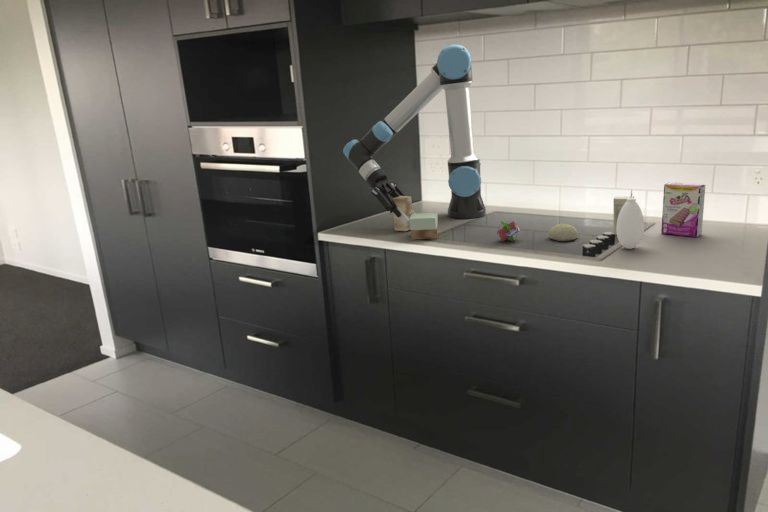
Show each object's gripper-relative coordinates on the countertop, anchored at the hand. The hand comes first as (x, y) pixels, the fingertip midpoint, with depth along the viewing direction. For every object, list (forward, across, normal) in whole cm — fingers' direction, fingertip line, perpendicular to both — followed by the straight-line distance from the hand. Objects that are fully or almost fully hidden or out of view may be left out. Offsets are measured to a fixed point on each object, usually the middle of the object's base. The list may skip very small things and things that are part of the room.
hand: (411, 220), depth 230 cm
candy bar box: (+63, -30, +57) cm, 90 cm away
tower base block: (+10, +5, +3) cm, 11 cm away
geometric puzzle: (+30, -1, +24) cm, 39 cm away
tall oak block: (0, 0, -5) cm, 5 cm away
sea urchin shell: (+41, -11, +35) cm, 55 cm away
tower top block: (+7, +5, +6) cm, 10 cm away
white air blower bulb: (+57, -8, +50) cm, 76 cm away
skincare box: (+52, -24, +45) cm, 73 cm away
